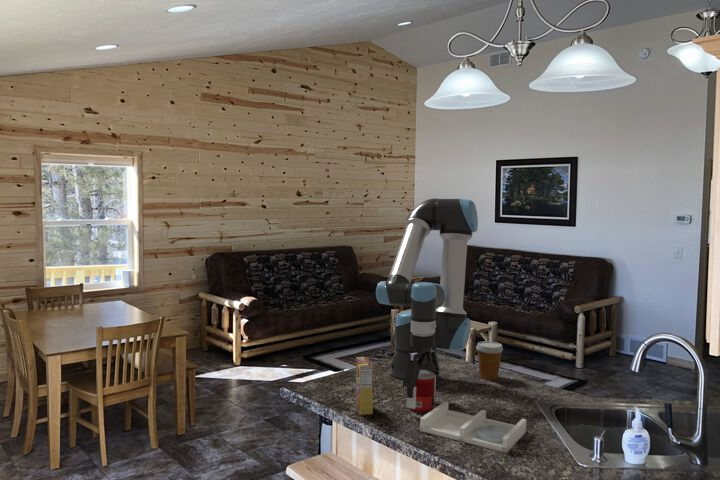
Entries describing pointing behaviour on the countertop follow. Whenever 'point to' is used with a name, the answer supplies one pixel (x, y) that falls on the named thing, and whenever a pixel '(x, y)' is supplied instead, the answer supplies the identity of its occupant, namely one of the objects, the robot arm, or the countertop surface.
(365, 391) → the candy box
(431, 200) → the robot arm
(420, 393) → the canned food
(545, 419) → the countertop surface
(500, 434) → the saucer
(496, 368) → the disposable coffee cup
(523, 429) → the rack
